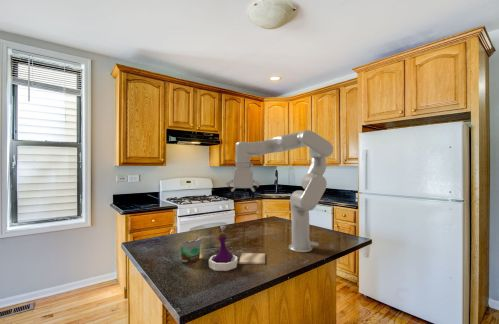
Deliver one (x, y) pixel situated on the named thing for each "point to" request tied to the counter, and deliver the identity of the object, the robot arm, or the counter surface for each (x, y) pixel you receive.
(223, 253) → the perfume bottle
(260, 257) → the coaster board
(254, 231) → the counter surface
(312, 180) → the robot arm
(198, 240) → the food container
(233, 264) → the holder ring
